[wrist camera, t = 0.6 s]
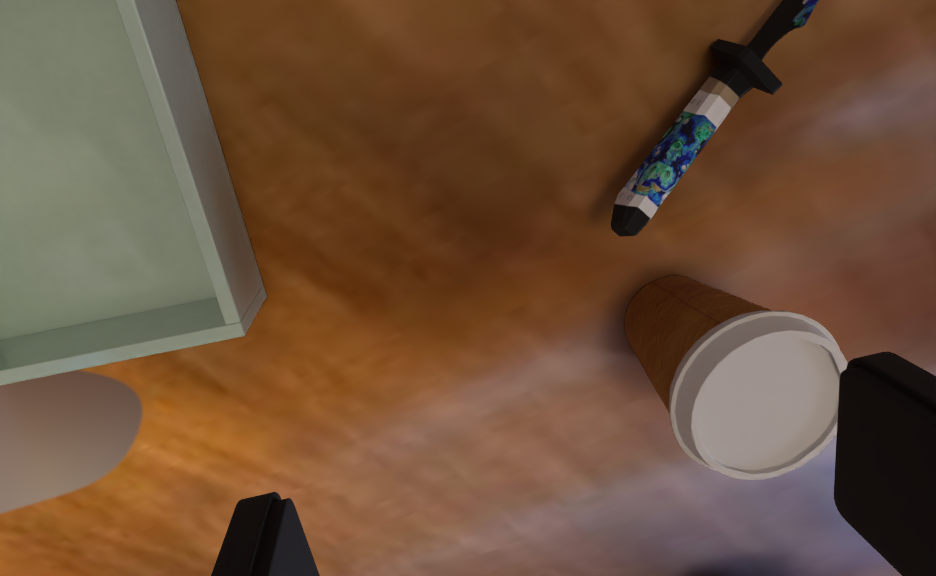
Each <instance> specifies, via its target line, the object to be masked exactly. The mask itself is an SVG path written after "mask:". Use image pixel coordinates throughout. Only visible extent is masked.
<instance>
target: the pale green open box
mask: <svg viewBox="0 0 936 576" xmlns="http://www.w3.org/2000/svg"><path fill="white" fill-rule="evenodd" d="M266 297H267V294H266V291H265V288H264V285H263V282H262V278H261V275H260V272H259V269H258V265H257V262H256V259H255V256H254V252H253V249H252V246H251V243H250V239H249V236H248V233H247V230H246V226H245V223H244V220H243V217H242V214H241V210H240V207H239V204H238V201H237V197H236V194H235V191H234V188H233V184H232V181H231V178H230V175H229V171H228V168H227V165H226V162H225V158H224V155H223V152H222V149H221V146H220V142H219V139H218V136H217V133H216V129H215V126H214V123H213V120H212V116H211V113H210V110H209V107H208V103H207V100H206V97H205V94H204V90H203V87H202V84H201V81H200V78H199V74H198V71H197V68H196V65H195V61H194V58H193V55H192V52H191V48H190V45H189V42H188V39H187V35H186V32H185V29H184V26H183V22H182V19H181V16H180V13H179V10H178V6H177V3H176V0H0V385H4V384H9V383H14V382H19V381H24V380H29V379H34V378H39V377H44V376H49V375H54V374H59V373H64V372H69V371H74V370H79V369H84V368H89V367H94V366H98V365H103V364H108V363H113V362H118V361H123V360H128V359H133V358H138V357H143V356H148V355H153V354H158V353H163V352H168V351H173V350H178V349H183V348H188V347H192V346H197V345H202V344H207V343H212V342H217V341H222V340H227V339H232V338H237V337H242V336H245V335H246V333H247V331H248V329H249V327H250V326H251V324H252V322H253V320H254V319H255V317H256V315H257V313H258V311H259V310H260V308H261V306H262V304H263V303H264V301H265V299H266Z"/></svg>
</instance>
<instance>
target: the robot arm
mask: <svg viewBox="0 0 936 576" xmlns="http://www.w3.org/2000/svg"><path fill="white" fill-rule="evenodd" d="M834 500H835V504H836V506H837V509H838V511H839V512H840V514H841V515H842V517H843V518H844V519H845V520H846V521H847V522H848V523H849V524H850V525H851V526H852V527H853V528H854V529H855V530H856V531H857V532H858V533H859V534H860V535H861V536H862V537H863V538H864V539H865V540H866V541H867V542H868V543H869V544H870V545H871V546H872V547H874V548H875V549H876V550H877V551H878V552H879V553H880V554H881V555H882V556H883V557H884V558H885V559H886V560H887V561H888V562H889V563H890V564H891V565H892V566H893V567H894V568H895V569H896V570H897V571H898V572H899V573H900V574H901V575H902V576H936V376H934V375H932V374H931V373H929V372H927V371H925V370H923V369H922V368H920V367H918V366H916V365H914V364H913V363H911V362H909V361H907V360H905V359H903V358H902V357H900V356H898V355H896V354H894V353H891V352H881V353H877V354H872V355H868V356H864V357H859V358H855V359H853V360H851V361H850V362H849V363H848V365H847V368H846V370H844V371H842V373H841V375H840V380H839V401H838V421H837V442H836V462H835V483H834ZM211 576H319V573H318V570H317V567H316V564H315V562H314V559H313V556H312V553H311V550H310V548H309V545H308V542H307V539H306V536H305V534H304V531H303V528H302V525H301V522H300V520H299V517H298V514H297V511H296V508H295V506H294V503H293V501H292V500H291V499H290V498H288V499H283V500H281V497H280V496H279V494H278V493H276V492H272V493H268V494H264V495H259V496H255V497H251V498H246V499H242V500H240V501H239V502H238V503H237V505H236V508H235V510H234V513H233V516H232V519H231V522H230V524H229V527H228V530H227V533H226V536H225V538H224V541H223V544H222V547H221V550H220V552H219V555H218V558H217V561H216V564H215V566H214V569H213V572H212V575H211Z"/></svg>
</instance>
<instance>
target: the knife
mask: <svg viewBox="0 0 936 576" xmlns="http://www.w3.org/2000/svg"><path fill="white" fill-rule="evenodd" d="M818 1H819V0H782V2H781V3H780V4H779V5H778V7H777V8H776V9H775V11H774V12H773V13H772V14H771V16H770V17H769V18H768V20H767V21H766V22H765V24H764V25H763V26H762V27H761V29H760V30H759V31H758V33H757V34H756V35H755V37H754V38H753V39H752V40H751V42H750V43H749V44H748V46H744V45H740V44H736V43H732V42H728V41H724V40H720V39H718V40H717V41H716V42H715V43H714V44H713V45H712V46H711V48H712V50H713V52H714V53H715V55H716V56H717V58H718V60H719V61H720V63H719V65H718V66H717V67H716V69H715V70H714V71H713V73H712V74H711V75H710V77H709V78H708V79H707V81H706V82H705V83H704V84H703V86H702V87H701V88H700V90H699V91H698V92H697V93H696V95H695V96H694V97H693V99H692V100H691V101H690V102H689V104H688V105H687V106H686V108H685V109H684V110H683V111H682V113H681V114H680V115H679V117H678V118H677V119H676V121H675V122H674V123H673V124H672V126H671V127H670V128H669V130H668V131H667V132H666V133H665V135H664V136H663V137H662V139H661V140H660V141H659V142H658V144H657V145H656V146H655V148H654V149H653V150H652V151H651V153H650V154H649V155H648V157H647V158H646V159H645V160H644V162H643V163H642V164H641V166H640V167H639V168H638V170H637V171H636V172H635V173H634V175H633V176H632V177H631V179H630V180H629V181H628V182H627V184H626V185H625V186H624V188H623V189H622V190H621V191H620V193H619V194H618V196H617V199H616V201H615V204H614V209H613V214H612V220H611V228H612V230H613V231H614V232H615V233H616V234H618V235H619V236H635V235H637V234H638V233H639V232H640V231H641V230H642V229H643V227H644V226H645V225H646V224H647V223H648V222H649V220H650V219H651V218H652V216H653V215H654V214H655V212H656V211H657V210H658V208H659V207H660V206H661V204H662V203H663V202H664V200H665V199H666V198H667V196H668V195H669V193H670V192H671V191H672V189H673V188H674V187H675V185H676V184H677V183H678V181H679V180H680V179H681V177H682V176H683V174H684V173H685V172H686V170H687V169H688V168H689V166H690V165H691V164H692V162H693V161H694V160H695V158H696V157H697V155H698V154H699V153H700V151H701V150H702V149H703V147H704V146H705V145H706V143H707V142H708V141H709V139H710V138H711V136H712V135H713V134H714V132H715V131H716V130H717V128H718V127H719V126H720V124H721V123H722V121H723V120H724V119H725V117H726V116H727V115H728V113H729V112H730V111H731V109H732V108H733V106H734V105H735V104H736V102H737V101H738V100H739V98H741V97H742V96H743V95H744V94H746V93H747V92H748V91H749V90H750V89H752V88H753V87H754V88H757V89H759V90H762V91H764V92H767V93H770V94H772V95H773V94H774V93H775V92H776V91H777V90H778V89H779V88H780V87H781V86H782V83H781V82H780V80H779V79H778V78H777V77H776V76H775V75H774V74H773V73H772V72H771V71H770V69H769V68H768V67H767V66H766V65H765V64H764V63H763V62H762V60H763V58H764V56H765V55H766V53H767V52H768V51H769V50H770V49H771V47H772V46H773V45H774V44H775V43H776V42H777V41H778V40H779V39H781V38H782V37H783V36H784V35H785V34H787V33H788V32H789V31H791V30H793V29H795V28H800V27H802V26H804V25H805V24H806V22H807V20H808V18H809V17H810V15H811V13H812V11H813V9H814V8H815V6H816V4H817V3H818Z"/></svg>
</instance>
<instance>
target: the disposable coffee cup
mask: <svg viewBox="0 0 936 576" xmlns="http://www.w3.org/2000/svg"><path fill="white" fill-rule="evenodd" d="M625 333H626V336H627V340H628V341H629V343H630V345H631V347H632V348H633V350H634V352H635V354H636V355H637V357H638V359H639V360H640V362H641V364H642V366H643V368H644V369H645V371H646V373H647V375H648V376H649V378H650V380H651V382H652V383H653V385H654V387H655V389H656V391H657V393H658V394H659V396H660V398H661V399H662V401H663V403H664V405H665V406H666V408H667V410H668V412H669V414H670V420H671V426H672V430H673V432H674V434H675V437H676V439H677V441H678V443H679V444H680V446H681V447H682V448H683V450H684V451H685V452H686V453H687V454H688V455H689V456H690V457H691V458H692V459H694V460H695V461H697V462H698V463H700V464H701V465H703V466H705V467H708V468H710V469H712V470H716V471H719V472H720V473H722V474H724V475H726V476H730V477H733V478H736V479H744V480H762V479H766V478H771V477H776V476H780V475H783V474H785V473H787V472H789V471H792V470H794V469H796V468H798V467H801V466H802V465H803V464H805V463H806V462H808V461H809V460H810V459H812V458H813V457H814V456H816V455H817V454H818V453H820V452H821V451H822V450H823V449H824V448H825V446H826V445H827V444H828V443H829V442H830V441H831V440H832V438H833V437H834V436H835V435H836V434H837V421H838V401H839V380H840V375H841V373H842V371H844V370H846V368H847V365H848V363H847V361H846V359H845V357H844V356H843V354H842V352H841V351H840V349H839V346H838V345H837V343H836V341H835V340H834V338H833V337H832V335H831V334H830V333H829V332H828V331H827V330H826V328H824V327H823V326H822V325H820V324H819V323H818V322H816V321H814V320H812V319H810V318H808V317H806V316H804V315H801V314H798V313H793V312H788V311H771V310H769V309H767V308H763V307H762V306H759V305H756V304H754V303H751V302H748V301H747V300H743V299H741V298H739V297H736V296H733V295H730V294H729V293H726V292H723V291H721V290H718V289H715V288H712V287H710V286H707V285H705V284H702V283H700V282H697V281H695V280H692V279H690V278H687V277H683V276H668V277H663V278H660V279H657V280H655V281H653V282H651V283H650V284H648V285H646V286H645V287H644V288H643V289H641V290H640V291H639V292H638V293H637V295H636V296H635V297H634V298H633V300H632V302H631V303H630V305H629V307H628V310H627V312H626V317H625Z"/></svg>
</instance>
